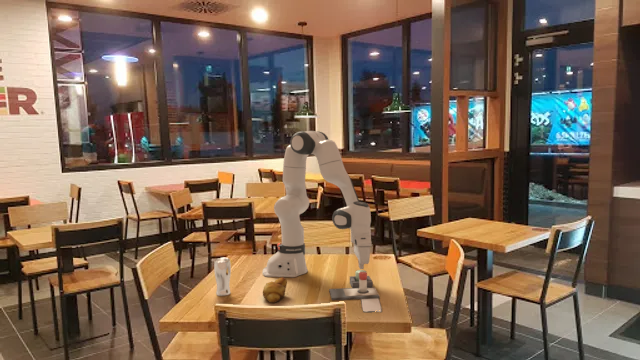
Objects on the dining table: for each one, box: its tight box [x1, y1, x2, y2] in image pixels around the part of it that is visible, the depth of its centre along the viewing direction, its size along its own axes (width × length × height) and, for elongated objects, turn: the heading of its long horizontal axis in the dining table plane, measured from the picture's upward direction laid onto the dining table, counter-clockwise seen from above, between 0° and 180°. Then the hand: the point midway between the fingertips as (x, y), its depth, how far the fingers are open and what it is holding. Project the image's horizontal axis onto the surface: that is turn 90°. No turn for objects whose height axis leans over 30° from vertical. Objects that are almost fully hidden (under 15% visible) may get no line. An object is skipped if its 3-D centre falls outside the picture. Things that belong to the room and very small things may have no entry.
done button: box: [354, 269, 368, 282], centre depth 205 cm, size 5×5×4 cm
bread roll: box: [262, 277, 288, 303], centre depth 190 cm, size 13×10×8 cm
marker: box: [359, 272, 368, 293], centre depth 194 cm, size 3×3×8 cm
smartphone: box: [360, 298, 383, 313], centre depth 183 cm, size 8×1×16 cm
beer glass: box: [213, 257, 232, 297], centre depth 196 cm, size 7×7×15 cm
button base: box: [349, 275, 374, 288], centre depth 205 cm, size 9×9×3 cm
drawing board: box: [328, 286, 381, 301], centre depth 194 cm, size 20×11×1 cm, turn 95°
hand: (361, 268), depth 205 cm, fingers closed
